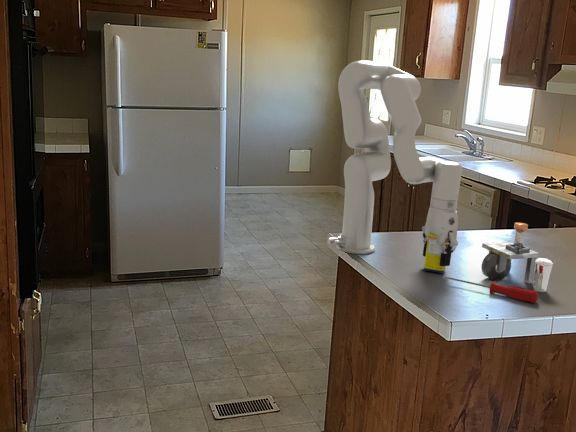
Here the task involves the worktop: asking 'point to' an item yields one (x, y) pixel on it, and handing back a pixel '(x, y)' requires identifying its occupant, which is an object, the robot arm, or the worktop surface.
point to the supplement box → (433, 255)
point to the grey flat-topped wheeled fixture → (506, 260)
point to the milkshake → (542, 274)
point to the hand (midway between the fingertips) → (435, 260)
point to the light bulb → (519, 234)
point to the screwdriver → (508, 291)
